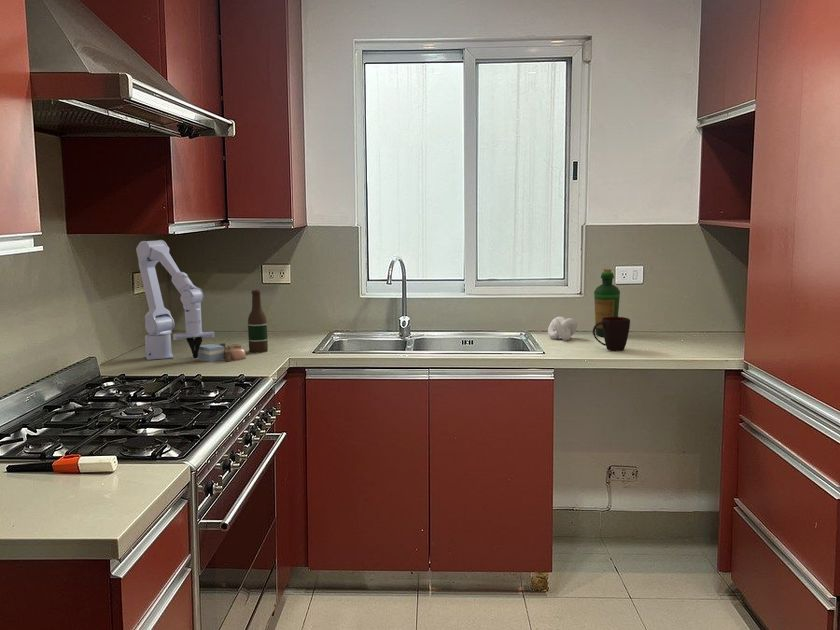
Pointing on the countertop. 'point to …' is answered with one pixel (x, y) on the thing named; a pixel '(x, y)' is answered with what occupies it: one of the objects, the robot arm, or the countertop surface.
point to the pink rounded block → (237, 354)
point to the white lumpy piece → (562, 328)
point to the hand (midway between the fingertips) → (195, 357)
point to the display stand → (226, 353)
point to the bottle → (606, 300)
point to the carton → (211, 352)
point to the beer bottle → (257, 326)
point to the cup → (614, 332)
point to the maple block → (233, 346)
